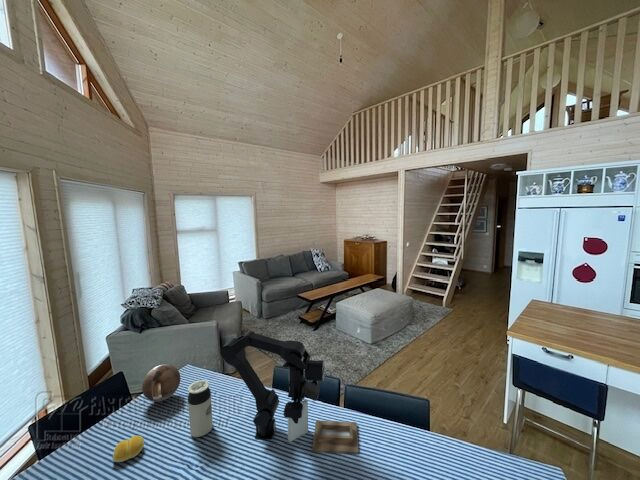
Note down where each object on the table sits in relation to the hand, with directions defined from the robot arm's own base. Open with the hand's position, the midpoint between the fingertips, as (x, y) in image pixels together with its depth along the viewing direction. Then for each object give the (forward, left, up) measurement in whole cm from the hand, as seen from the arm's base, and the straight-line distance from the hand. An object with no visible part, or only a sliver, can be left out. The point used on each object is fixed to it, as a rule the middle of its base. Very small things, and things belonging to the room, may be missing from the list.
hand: (297, 416), depth 98 cm
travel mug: (-38, 0, -8) cm, 39 cm away
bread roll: (-58, -8, -8) cm, 59 cm away
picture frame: (+14, 0, -8) cm, 16 cm away
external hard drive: (0, 0, -8) cm, 8 cm away
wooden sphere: (-66, +16, -8) cm, 68 cm away
